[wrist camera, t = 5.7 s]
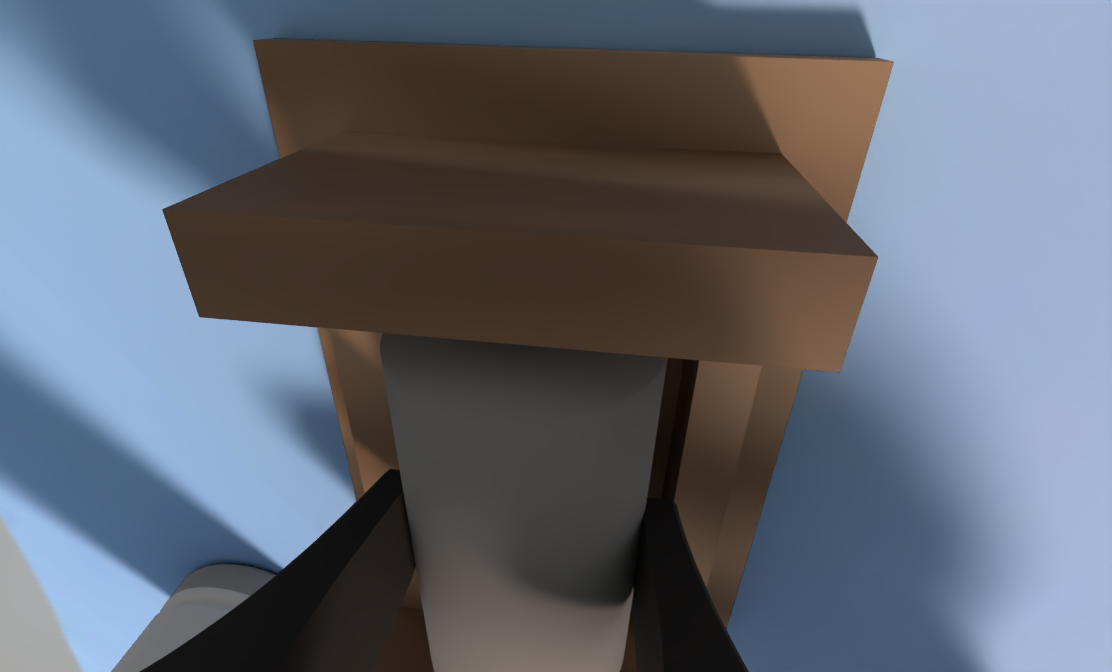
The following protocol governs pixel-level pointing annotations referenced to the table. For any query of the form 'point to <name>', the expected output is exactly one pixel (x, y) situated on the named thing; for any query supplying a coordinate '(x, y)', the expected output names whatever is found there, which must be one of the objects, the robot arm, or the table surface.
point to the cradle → (559, 241)
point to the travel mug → (193, 611)
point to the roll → (523, 496)
